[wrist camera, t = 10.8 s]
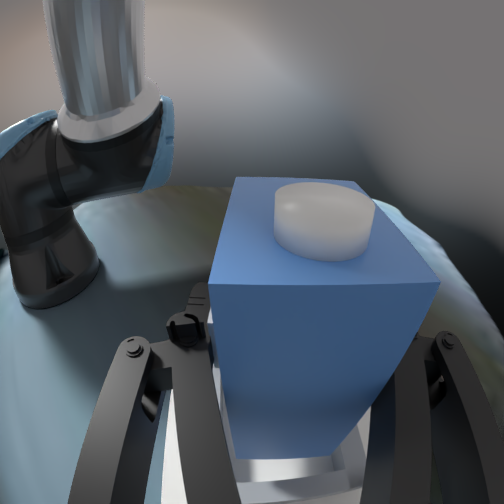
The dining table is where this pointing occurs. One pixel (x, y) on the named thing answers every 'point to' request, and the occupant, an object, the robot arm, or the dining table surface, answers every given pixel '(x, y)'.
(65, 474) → the dining table surface
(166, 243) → the dining table surface
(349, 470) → the white square socket base
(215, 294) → the blue drink carton
